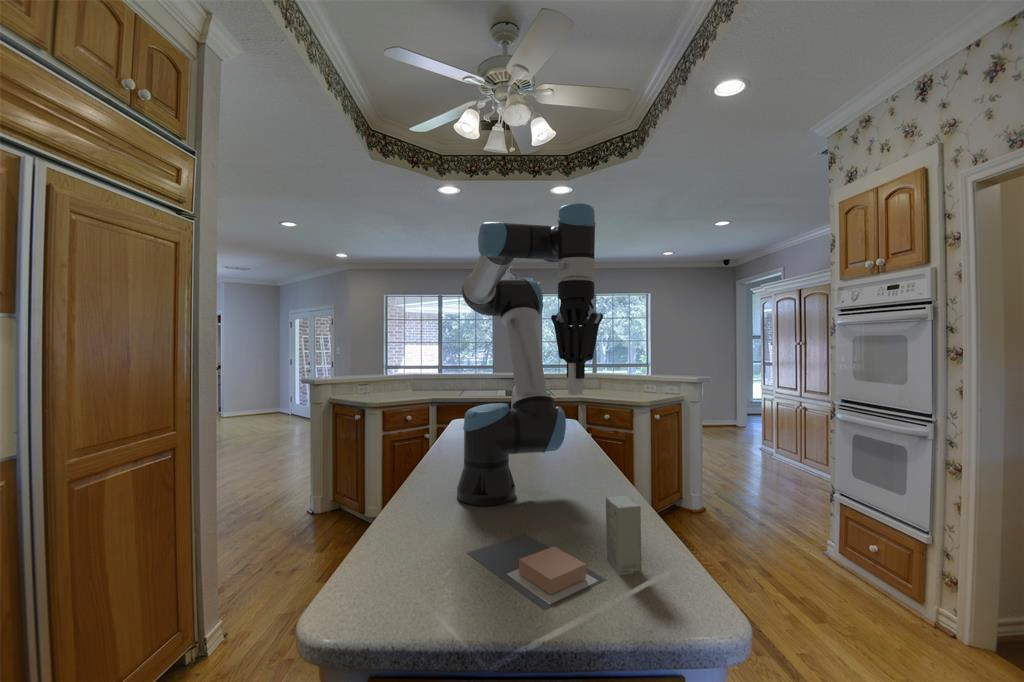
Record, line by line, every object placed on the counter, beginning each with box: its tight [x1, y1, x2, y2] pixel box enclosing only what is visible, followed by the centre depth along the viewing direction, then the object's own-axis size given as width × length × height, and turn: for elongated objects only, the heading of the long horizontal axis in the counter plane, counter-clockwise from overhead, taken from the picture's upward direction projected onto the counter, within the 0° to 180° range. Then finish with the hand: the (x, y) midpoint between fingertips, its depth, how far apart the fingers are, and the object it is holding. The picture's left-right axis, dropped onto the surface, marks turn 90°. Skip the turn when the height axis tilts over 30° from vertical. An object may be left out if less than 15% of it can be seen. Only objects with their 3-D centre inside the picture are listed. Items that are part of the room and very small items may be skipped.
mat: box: [466, 533, 608, 611], centre depth 81 cm, size 22×14×1 cm, turn 37°
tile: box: [519, 546, 587, 595], centre depth 77 cm, size 3×8×8 cm
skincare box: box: [605, 494, 643, 576], centre depth 81 cm, size 6×4×12 cm
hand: (575, 394), depth 94 cm, fingers closed
